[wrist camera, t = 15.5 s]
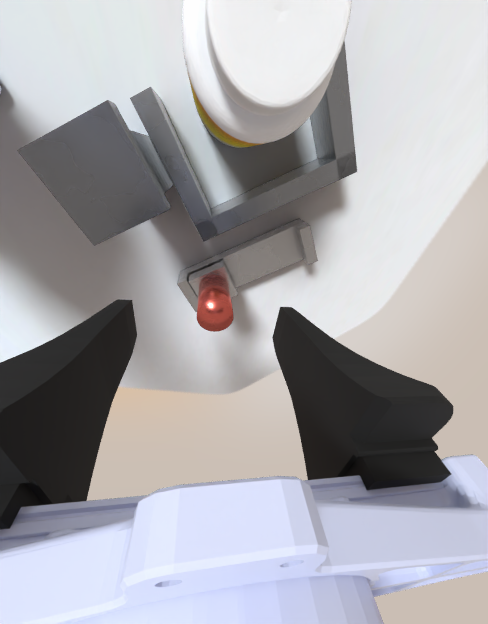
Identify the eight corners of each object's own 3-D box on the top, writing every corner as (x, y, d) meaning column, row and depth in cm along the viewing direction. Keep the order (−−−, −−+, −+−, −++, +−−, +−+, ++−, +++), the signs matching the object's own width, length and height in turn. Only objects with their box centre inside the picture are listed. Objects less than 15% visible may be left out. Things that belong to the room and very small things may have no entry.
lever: (205, 301, 21) (204, 339, 17) (189, 275, 19) (184, 309, 15) (236, 288, 20) (244, 323, 16) (222, 260, 19) (227, 291, 15)
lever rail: (196, 298, 22) (195, 312, 20) (180, 271, 21) (177, 283, 19) (307, 250, 21) (317, 260, 19) (299, 218, 19) (309, 225, 17)
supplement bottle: (265, 159, 17) (325, 165, 8) (186, 131, 15) (161, 105, 7) (295, 51, 14) (431, -105, 6) (201, 4, 13) (191, -302, 4)
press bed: (160, 250, 19) (136, 298, 13) (88, 137, 15) (-3, 125, 8) (336, 169, 18) (409, 178, 11) (314, 15, 13) (415, -116, 7)
